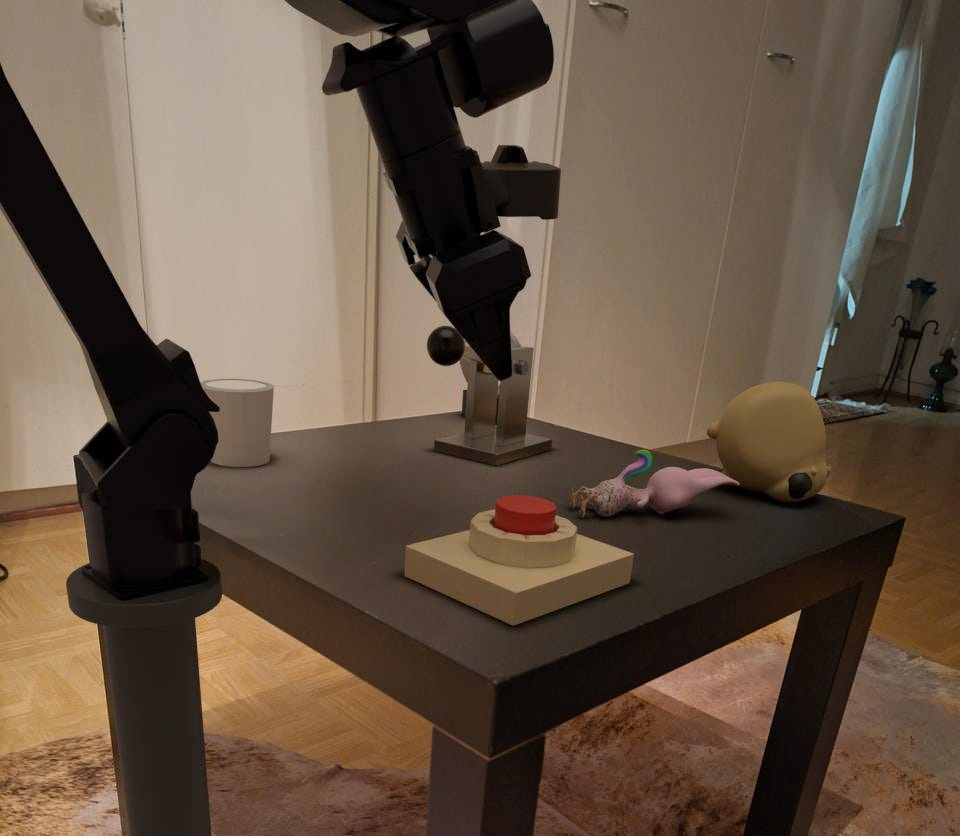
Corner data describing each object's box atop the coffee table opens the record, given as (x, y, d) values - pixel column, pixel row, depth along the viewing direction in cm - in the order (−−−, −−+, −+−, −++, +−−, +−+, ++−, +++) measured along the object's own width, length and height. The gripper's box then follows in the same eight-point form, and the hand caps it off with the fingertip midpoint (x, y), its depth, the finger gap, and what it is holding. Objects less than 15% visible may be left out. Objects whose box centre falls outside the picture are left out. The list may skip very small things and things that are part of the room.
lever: (446, 365, 79) (454, 324, 79) (415, 359, 81) (422, 319, 80) (518, 386, 91) (525, 350, 90) (489, 381, 92) (496, 346, 91)
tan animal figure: (736, 536, 84) (834, 483, 76) (677, 428, 84) (768, 364, 77) (778, 514, 91) (872, 464, 83) (723, 414, 91) (812, 355, 83)
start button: (526, 543, 55) (528, 516, 54) (481, 526, 58) (483, 500, 57) (566, 532, 58) (569, 506, 57) (521, 516, 60) (524, 491, 59)
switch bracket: (496, 465, 88) (505, 354, 83) (433, 450, 91) (438, 343, 87) (551, 449, 96) (562, 347, 91) (491, 436, 100) (499, 338, 95)
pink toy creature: (589, 539, 72) (752, 510, 75) (587, 470, 70) (756, 442, 72) (564, 517, 78) (717, 490, 80) (561, 451, 75) (720, 426, 78)
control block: (513, 626, 52) (519, 564, 50) (404, 576, 58) (406, 519, 57) (630, 583, 60) (638, 528, 58) (523, 543, 66) (528, 492, 65)
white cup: (186, 461, 81) (180, 383, 78) (231, 447, 87) (228, 375, 84) (248, 472, 79) (244, 393, 76) (290, 457, 84) (289, 384, 81)
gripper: (573, 106, 51) (629, 354, 60) (498, 92, 66) (552, 293, 75) (398, 179, 51) (481, 416, 60) (363, 149, 66) (434, 342, 75)
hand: (491, 360), depth 68 cm, fingers open, 9 cm apart
